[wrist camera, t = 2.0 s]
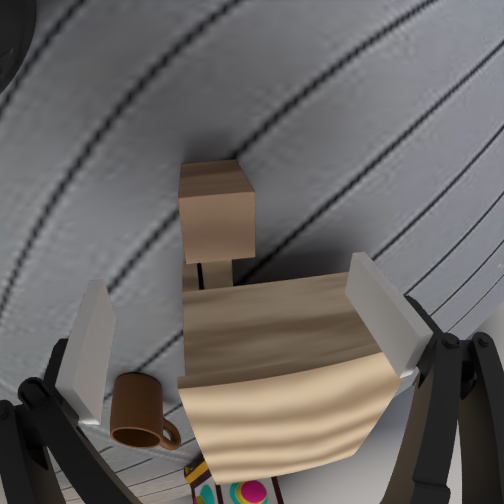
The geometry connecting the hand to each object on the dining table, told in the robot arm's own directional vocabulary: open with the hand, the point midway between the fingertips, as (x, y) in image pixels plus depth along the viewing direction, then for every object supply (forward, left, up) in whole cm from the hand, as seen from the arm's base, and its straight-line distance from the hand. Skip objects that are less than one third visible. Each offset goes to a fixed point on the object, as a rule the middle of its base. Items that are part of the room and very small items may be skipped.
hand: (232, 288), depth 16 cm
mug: (+31, -13, -16) cm, 37 cm away
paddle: (+11, 0, -15) cm, 19 cm away
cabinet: (+20, +5, -15) cm, 26 cm away
